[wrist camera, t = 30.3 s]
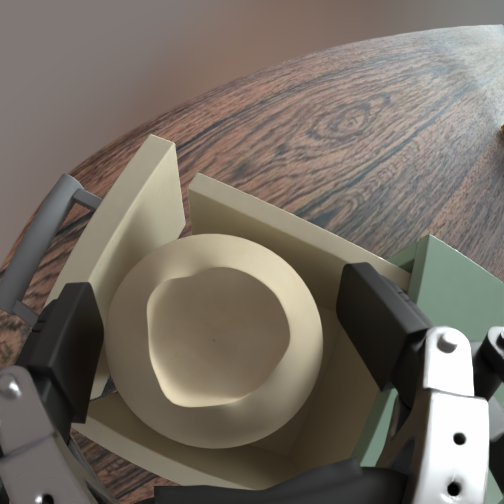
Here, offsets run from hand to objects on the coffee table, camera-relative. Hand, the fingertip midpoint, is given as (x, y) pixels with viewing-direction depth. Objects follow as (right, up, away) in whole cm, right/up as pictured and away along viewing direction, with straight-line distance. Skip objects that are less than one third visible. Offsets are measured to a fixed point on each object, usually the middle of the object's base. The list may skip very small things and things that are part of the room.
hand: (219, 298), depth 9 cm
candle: (-1, -3, +6) cm, 7 cm away
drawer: (-3, -3, +7) cm, 8 cm away
